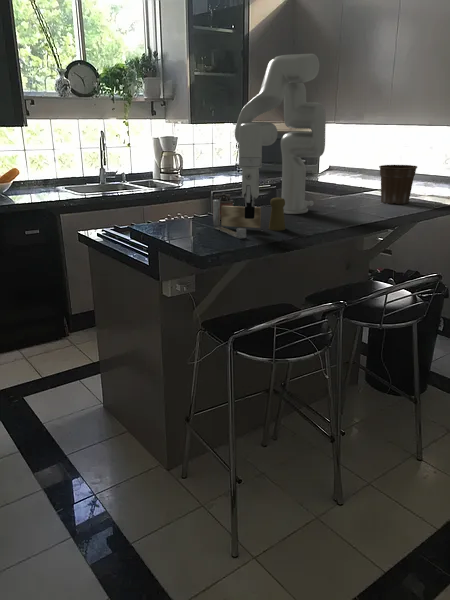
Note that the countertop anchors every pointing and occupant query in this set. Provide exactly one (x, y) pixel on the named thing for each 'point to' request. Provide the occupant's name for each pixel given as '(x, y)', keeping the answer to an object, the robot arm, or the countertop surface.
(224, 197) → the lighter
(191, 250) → the countertop surface
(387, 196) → the plant pot
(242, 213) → the door
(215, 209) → the grey l-shaped bracket
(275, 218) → the cork
